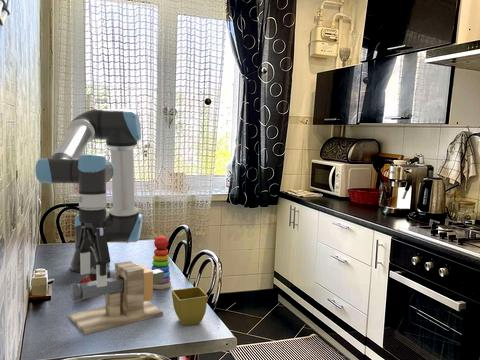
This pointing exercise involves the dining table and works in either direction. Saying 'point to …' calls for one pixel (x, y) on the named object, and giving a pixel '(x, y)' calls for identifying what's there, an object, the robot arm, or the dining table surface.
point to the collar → (147, 283)
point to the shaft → (113, 286)
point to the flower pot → (189, 305)
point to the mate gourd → (93, 271)
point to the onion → (85, 280)
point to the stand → (119, 303)
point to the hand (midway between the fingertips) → (93, 279)
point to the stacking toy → (161, 261)
